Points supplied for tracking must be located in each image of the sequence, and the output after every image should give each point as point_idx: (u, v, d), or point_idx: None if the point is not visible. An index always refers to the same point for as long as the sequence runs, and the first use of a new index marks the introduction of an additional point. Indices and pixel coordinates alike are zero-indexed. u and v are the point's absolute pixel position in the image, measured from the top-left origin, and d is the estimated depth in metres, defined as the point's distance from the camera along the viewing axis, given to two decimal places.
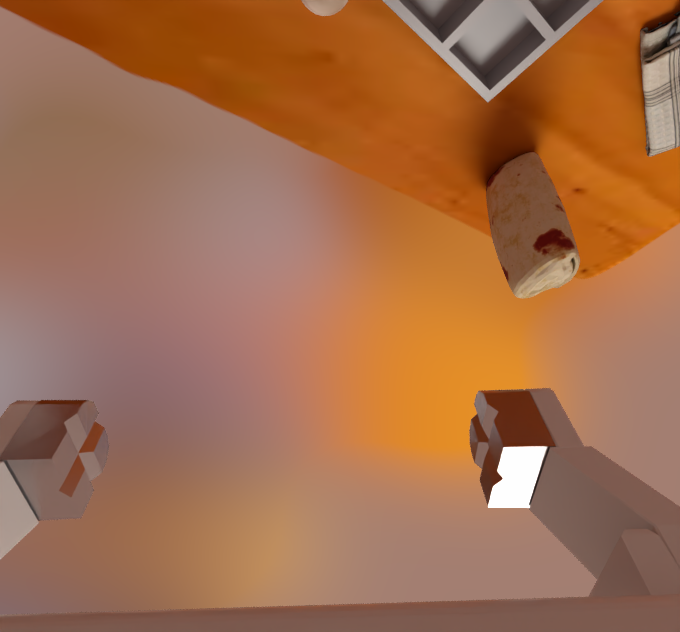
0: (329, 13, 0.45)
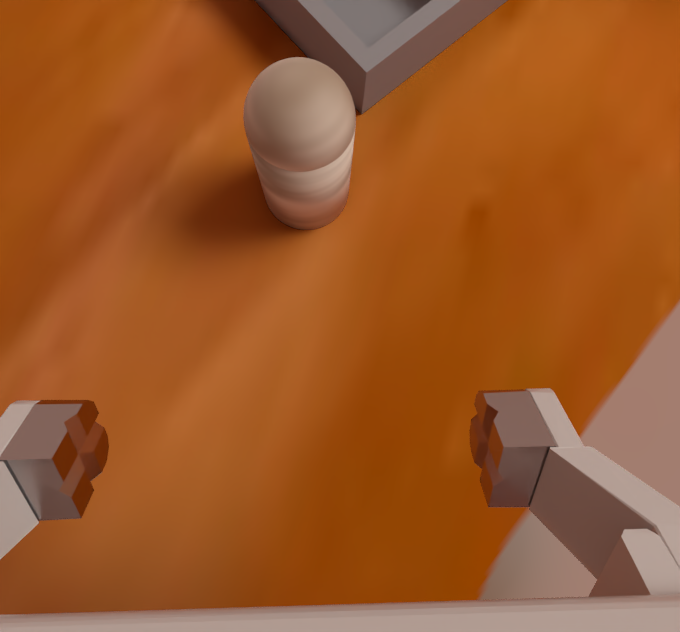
0: (342, 96, 0.20)
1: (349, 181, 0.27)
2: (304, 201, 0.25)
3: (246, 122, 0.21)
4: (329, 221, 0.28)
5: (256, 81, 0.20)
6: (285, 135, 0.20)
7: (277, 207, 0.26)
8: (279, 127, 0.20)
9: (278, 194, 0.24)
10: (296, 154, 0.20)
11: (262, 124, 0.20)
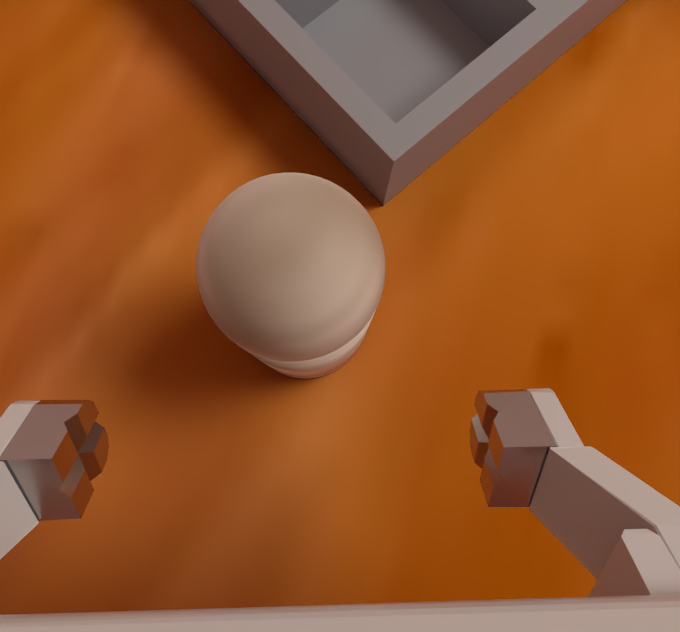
0: (365, 245, 0.12)
1: None
2: (302, 371, 0.16)
3: (199, 286, 0.12)
4: (340, 367, 0.19)
5: (214, 220, 0.12)
6: (264, 322, 0.11)
7: None
8: (253, 309, 0.11)
9: None
10: (284, 346, 0.12)
11: (224, 300, 0.11)
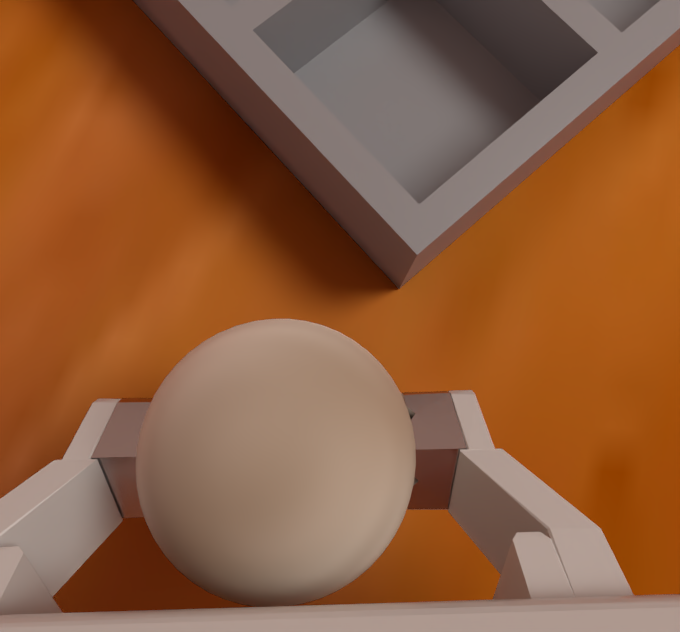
0: (389, 454, 0.07)
1: None
2: None
3: (139, 499, 0.08)
4: None
5: (158, 413, 0.08)
6: (233, 585, 0.07)
7: None
8: (215, 570, 0.07)
9: None
10: (265, 605, 0.08)
11: (171, 546, 0.07)
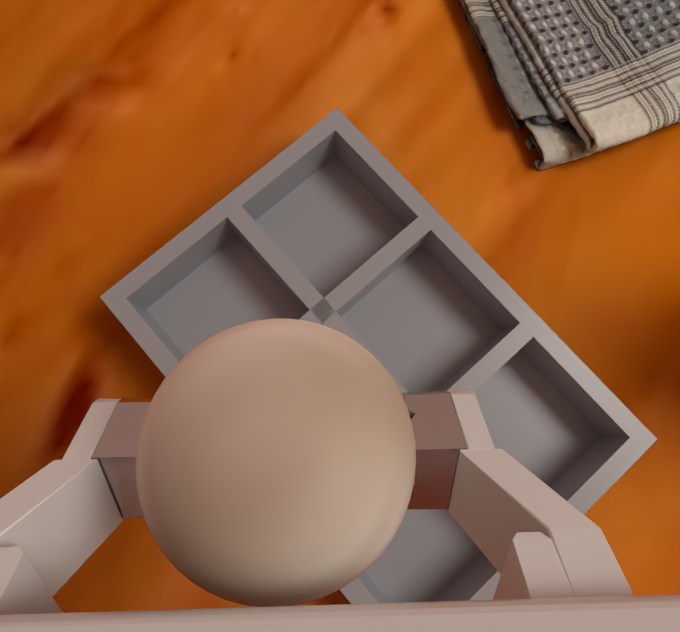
0: (389, 454, 0.07)
1: None
2: None
3: None
4: None
5: (158, 413, 0.08)
6: (233, 585, 0.07)
7: None
8: (215, 570, 0.07)
9: None
10: (266, 605, 0.08)
11: (170, 546, 0.07)
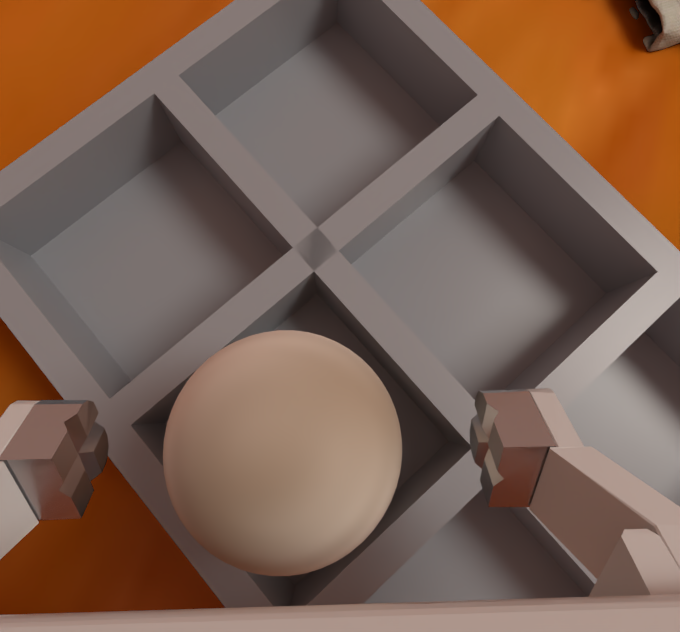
0: (378, 446, 0.09)
1: None
2: None
3: (166, 485, 0.10)
4: None
5: (183, 411, 0.09)
6: (247, 555, 0.09)
7: None
8: (233, 542, 0.08)
9: None
10: (274, 573, 0.09)
11: (195, 523, 0.09)
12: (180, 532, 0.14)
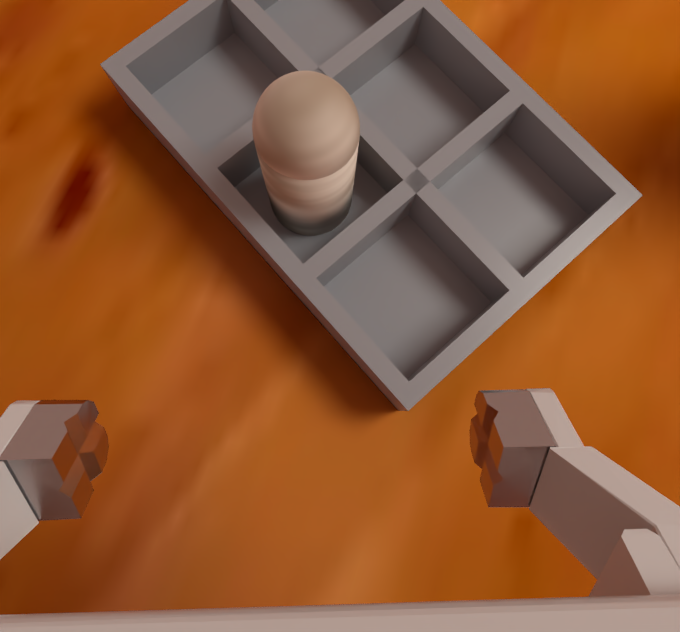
0: (347, 108, 0.21)
1: (352, 189, 0.28)
2: (309, 208, 0.25)
3: (255, 132, 0.22)
4: (333, 227, 0.29)
5: (265, 93, 0.21)
6: (292, 145, 0.21)
7: (283, 214, 0.27)
8: (287, 138, 0.21)
9: (284, 201, 0.25)
10: (303, 163, 0.21)
11: (270, 135, 0.21)
12: (245, 220, 0.26)
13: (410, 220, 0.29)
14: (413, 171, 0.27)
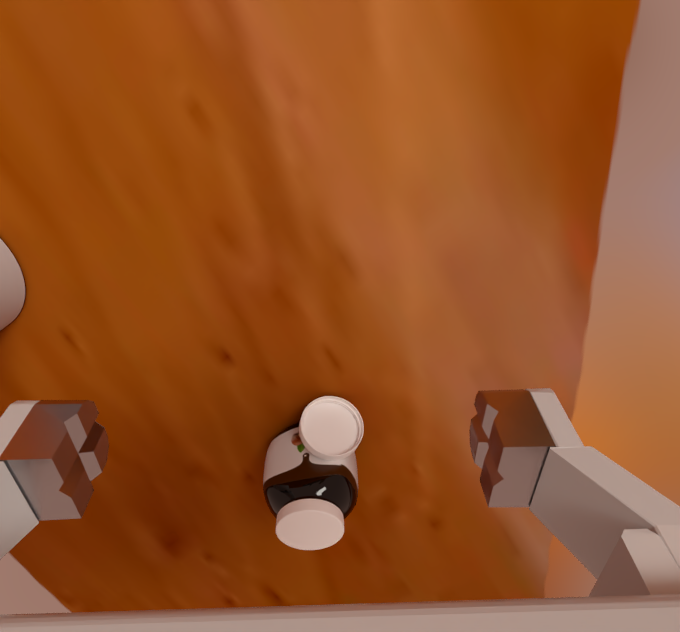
0: None
1: None
2: None
3: None
4: None
5: None
6: None
7: None
8: None
9: None
10: None
11: None
12: None
13: None
14: None
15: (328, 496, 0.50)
